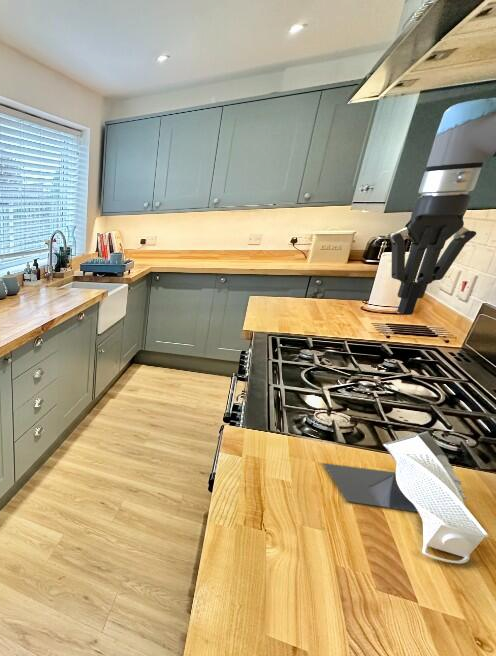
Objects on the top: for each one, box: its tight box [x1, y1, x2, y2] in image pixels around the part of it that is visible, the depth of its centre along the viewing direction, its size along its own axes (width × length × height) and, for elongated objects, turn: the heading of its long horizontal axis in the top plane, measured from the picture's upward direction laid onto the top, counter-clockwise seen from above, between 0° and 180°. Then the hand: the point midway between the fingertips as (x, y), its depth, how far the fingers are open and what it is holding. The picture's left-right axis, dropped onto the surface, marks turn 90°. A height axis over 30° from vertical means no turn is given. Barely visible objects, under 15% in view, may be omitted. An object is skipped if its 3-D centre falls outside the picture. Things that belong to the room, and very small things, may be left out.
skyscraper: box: [382, 431, 489, 564], centre depth 72 cm, size 8×8×28 cm
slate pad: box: [323, 463, 419, 514], centre depth 81 cm, size 13×13×1 cm
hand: (404, 313), depth 90 cm, fingers closed
